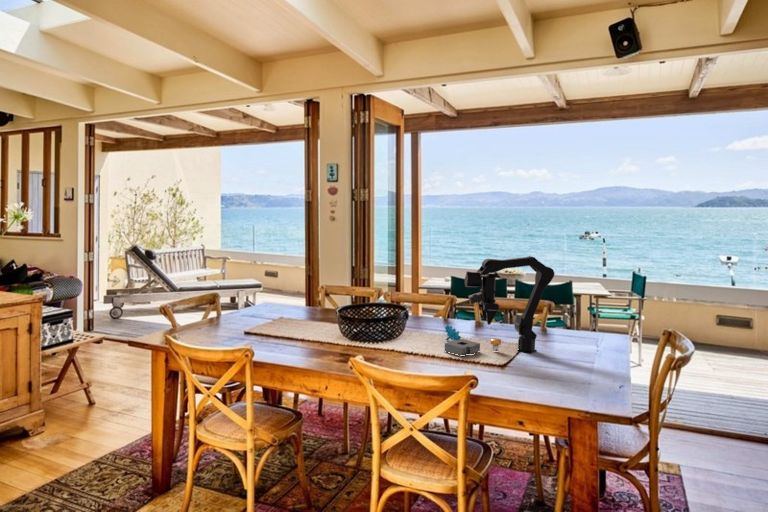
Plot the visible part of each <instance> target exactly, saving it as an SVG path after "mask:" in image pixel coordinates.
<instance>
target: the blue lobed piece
mask: <svg viewBox="0 0 768 512" xmlns="http://www.w3.org/2000/svg"><path fill="white" fill-rule="evenodd" d="M444 329H445V330H444V331H445V333H446V336H447V337H446V338H445V341H446V340H447V341H449V340H450V341H453V340H461V339H462V337H461V335H459V334H460V331H459V330H458V331H457V329H456V328H455V327H453V326H452V325H448V324H447V325H446V326H445V327H444Z"/></svg>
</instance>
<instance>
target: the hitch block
mask: <svg viewBox="0 0 768 512" xmlns="http://www.w3.org/2000/svg"><path fill="white" fill-rule="evenodd" d="M460 339H461V340H454V339H452V340H450V341H449V340H448V341H449V342H445V343H444V352H445V351H446V352H450V353H454V354H458V355H466V354H474V353H476V352H478V351H480V352H481V342H480V343H479V342H475V341H472V340H468V339H465V338H460ZM446 352H445V353H446ZM476 354H477V353H476Z"/></svg>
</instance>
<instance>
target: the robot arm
mask: <svg viewBox="0 0 768 512" xmlns="http://www.w3.org/2000/svg"><path fill="white" fill-rule="evenodd" d="M520 267H530V269H532V270H533V271H534V272H535V277H534V286H533V287H532V288H533V289H532V291H531V294H530V296H529V297H528V301H527V302H526V305H525V308H524V310H523V313H522V314H521V315H518V314H517V315H516V317H515V321H514V322H513V324H514V330H515V331H516V332H517V333H518V335H519V336H518V341H517V342H518V343H517V345H518V346H517V349H519V351H518V352H521V353H525V354H531V353H534V352H535V353H536V352H537V351H538V350H537V349H536V339H537V336H538V335H537V334H536V333H535V331H533V326H534V316H535V314H536V311H537V309H538V307H539V304H540V302H541V299H542V296H543V294H544V291H545V289H546V288H547V287H548V286H549V285H550V284H551V281H552V280H553V279H554V277H555V271H554V269H553V268H552V267H549V266H546V265H545V264H544V263H542V262H540V261H539V260H538V259H537V258H536V257H534V256H532V255H531V256H530V255H528V256H524V257H516V258H507V259H506V258H505V259H496V258H486V259H484V260H483V261H482V263H481V266H480V267H479V269H477V271H466V273H465V277H464V285H465V286H464V287H465V288H479V287H480V286H481V288H480V290H479V292H476V293H473V294H470V295H467V297H468V301H469V303H470V304H471V305H474V304H476V303H477V305H478V306H479V307H480V309H481V314H482V319H483V321H486V323H487V325H491V324H492V322H493V320H494V318H495V316H496V315H497V313H498V311H500V305H499V304H498V303H497V301H496V299H495V295H496V293H497V291H496V279H500V278H501V276H500V275H499V273H498V272H501V271H502V270H506V269H510V268H511V269H513V268H520Z"/></svg>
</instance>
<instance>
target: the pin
mask: <svg viewBox="0 0 768 512" xmlns="http://www.w3.org/2000/svg"><path fill="white" fill-rule="evenodd" d="M490 344H491V345H492V352H493V351H498V352H499V347H500V345H502V339H501V338H496V337H494V338H491V339H490Z"/></svg>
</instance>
